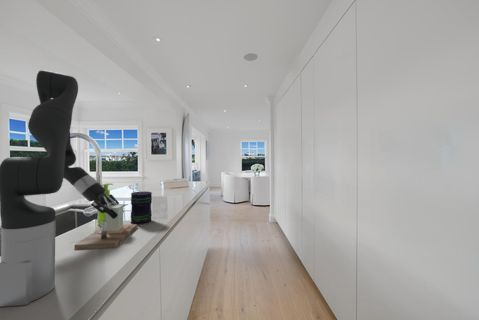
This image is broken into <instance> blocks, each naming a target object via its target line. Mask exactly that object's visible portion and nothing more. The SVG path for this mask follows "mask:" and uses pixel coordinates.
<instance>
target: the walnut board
mask: <svg viewBox="0 0 479 320" xmlns="http://www.w3.org/2000/svg"><path fill="white" fill-rule="evenodd" d="M123 226H129V227H128V228H127V229H126V230H124V231H123V232H122V233H113V234H107V238H105V239H101V234H98V233H99V232H101V227H100V228H99V229H97V230H96V231H94V232H93V233H90V234H89V235H88V236H85V237H84V238H83V239H82V240H80V241H78V242H77V243H75V244H74V247H73V248H74V250H80V249H81V250H83V249H107V248H108V249H110V248H118V246H119V245H120V244H121V243H122V242H124V241H125V240H126V238H128V237H129V236H130V235H131V234H132V233H133V232H134V231H135V230H136V229H137V228H138V225H137V224H131V223H130V224H123Z"/></svg>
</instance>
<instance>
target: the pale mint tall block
mask: <svg viewBox="0 0 479 320" xmlns="http://www.w3.org/2000/svg"><path fill="white" fill-rule="evenodd" d="M110 208H111V209H112V210H113V211H114V212H116V213H117V214H118V216H117V217H116V218H114V219H113V218H112V217H111V216H110V215H108V214H107V213H106V221H107V231H119V230H120V229H121V228H122V227H123V225H124V212H123V211H124V204H118V205H111V206H110Z"/></svg>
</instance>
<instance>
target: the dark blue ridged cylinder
mask: <svg viewBox="0 0 479 320" xmlns="http://www.w3.org/2000/svg"><path fill="white" fill-rule="evenodd" d="M130 195H131V197H130V205H131V211H130V220H131V221H130V224H137V226H139V225H145V224H146V225H147V224H149V223H151V222H152V202H153V197H152V195H153V194H152V191H135V192H131V193H130Z"/></svg>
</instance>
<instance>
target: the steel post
mask: <svg viewBox="0 0 479 320" xmlns="http://www.w3.org/2000/svg"><path fill="white" fill-rule="evenodd" d="M100 228H101V239H105V238H107V221H101V226H100Z"/></svg>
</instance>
